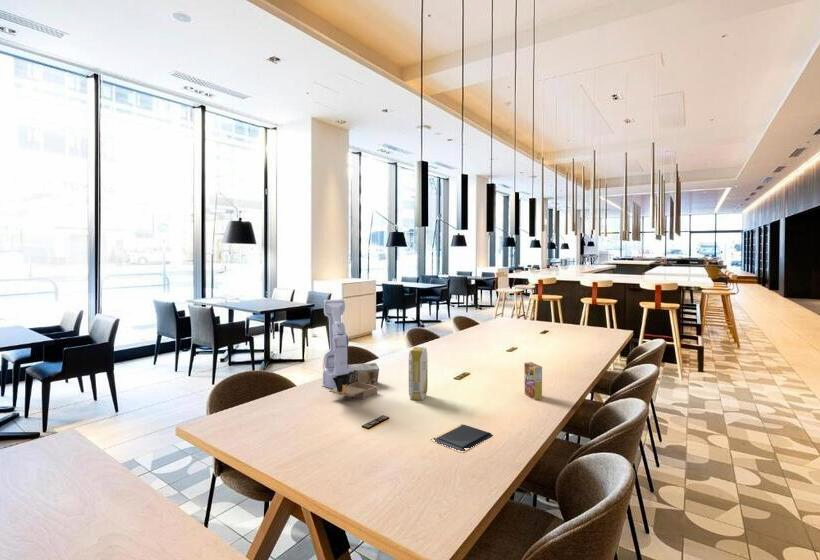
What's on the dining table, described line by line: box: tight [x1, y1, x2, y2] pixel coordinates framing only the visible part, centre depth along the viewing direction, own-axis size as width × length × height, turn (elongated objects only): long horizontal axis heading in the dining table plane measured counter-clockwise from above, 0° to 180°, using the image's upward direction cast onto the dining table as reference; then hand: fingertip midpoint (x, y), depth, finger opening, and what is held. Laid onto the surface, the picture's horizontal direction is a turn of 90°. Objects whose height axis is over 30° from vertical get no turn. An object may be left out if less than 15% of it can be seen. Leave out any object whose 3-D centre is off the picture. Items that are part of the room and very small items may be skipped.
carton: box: [348, 382, 378, 400], centre depth 210 cm, size 13×10×4 cm
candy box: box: [523, 361, 543, 401], centre depth 205 cm, size 9×4×15 cm, turn 17°
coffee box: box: [347, 362, 380, 385], centre depth 224 cm, size 9×6×16 cm
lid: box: [328, 385, 366, 398], centre depth 203 cm, size 13×10×4 cm
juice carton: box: [408, 345, 429, 401], centre depth 204 cm, size 9×8×24 cm
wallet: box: [430, 424, 494, 451], centre depth 161 cm, size 20×2×15 cm
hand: (341, 391), depth 200 cm, fingers closed on lid
